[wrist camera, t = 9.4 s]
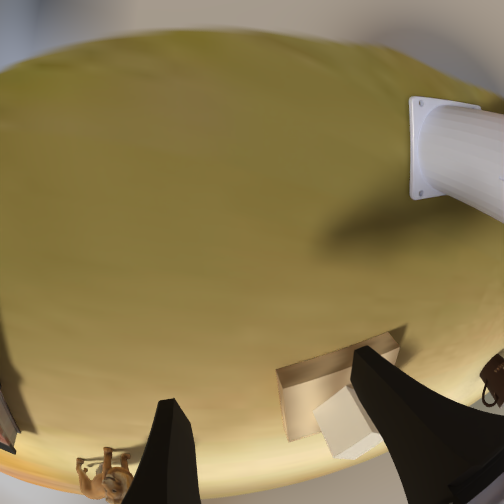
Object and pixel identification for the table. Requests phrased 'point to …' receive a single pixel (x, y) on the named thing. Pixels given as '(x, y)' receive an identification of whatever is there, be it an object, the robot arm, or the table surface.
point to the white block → (346, 425)
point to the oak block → (321, 383)
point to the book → (7, 427)
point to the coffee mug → (494, 380)
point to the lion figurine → (106, 479)
